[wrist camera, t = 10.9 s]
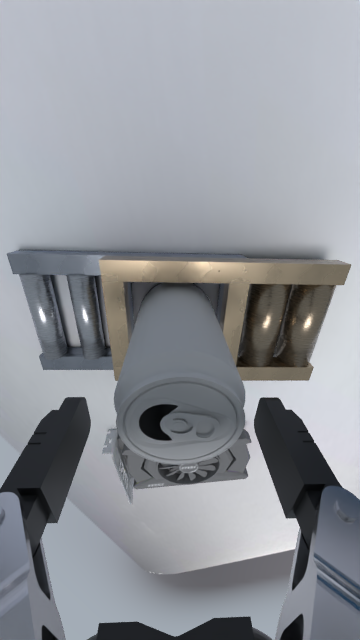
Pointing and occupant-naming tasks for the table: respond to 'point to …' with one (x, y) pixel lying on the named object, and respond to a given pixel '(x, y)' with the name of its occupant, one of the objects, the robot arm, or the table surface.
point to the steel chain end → (75, 303)
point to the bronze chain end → (237, 306)
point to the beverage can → (178, 380)
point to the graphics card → (176, 466)
